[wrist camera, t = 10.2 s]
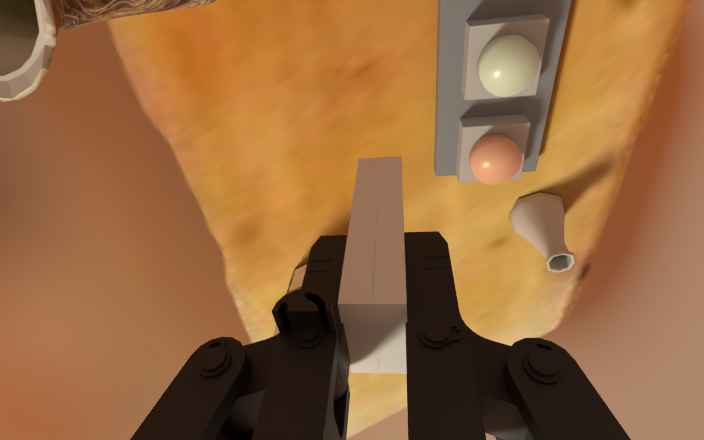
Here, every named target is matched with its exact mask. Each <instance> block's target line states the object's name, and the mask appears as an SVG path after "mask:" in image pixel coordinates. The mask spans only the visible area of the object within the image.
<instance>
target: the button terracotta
mask: <svg viewBox="0 0 704 440" xmlns="http://www.w3.org/2000/svg"><path fill="white" fill-rule="evenodd" d="M469 162H470V165H471V168H472V171H473V174H474V176H475V177H476V178H477V179H478V180H479V181H481V182H483V183H486V184H500V183H503V182H505V181H508V180H509V179H511V178H512V177H513V176H515V175H516V173H517V172H518V171H519V169H520V167H521V164H522V155H521V152H520V150H519V149H518V147H517V145H516V143H515V142H514V140H513V139H511V138H510V137H509V136H506V135H503V134H491V135H488V136H485V137H483V138H481V139H480V140H479V141H477V142H476V143H475V144H474V146H473V147H472V149H471V151H470V154H469Z"/></svg>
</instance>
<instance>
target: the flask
mask: <svg viewBox="0 0 704 440" xmlns="http://www.w3.org/2000/svg"><path fill="white" fill-rule="evenodd" d="M509 218H510V221H511V224H512V227H513V230H514V231H515V232H516V233H518V234H519V235H520V236H522V237H523V238H525V239H526V240H527V241H529V242H530V243H531V244H532V245H534V246H535V247H536V248H537V249H539V251H540V252H541V253H542V254H543V255H544V257H545V258H546V265H547V268H548V270H549V271H553V272H562V271H566V270H570V269H571V268H572V266H573V265H574V264H575V258H574V254H573V253H572V252H569V251H568V249H567V247H566V245H565V242H564V218H565V212H564V208H563V203H562V199H561V196H558V195H552V194H547V193H542V192H539V193H536V194H533V195H530V196H527V197H524V198H521V199H518V200H517V202H516V204H515V205H514V207H513V209H512V211H511V213H510V215H509Z"/></svg>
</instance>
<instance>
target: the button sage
mask: <svg viewBox="0 0 704 440" xmlns="http://www.w3.org/2000/svg"><path fill="white" fill-rule="evenodd" d="M539 65H540V58H539V54H538V51H537V49H536V48H535V46H534V45H533V44H531V43H530V42H529V41H528V40H527V39H526V38H524V37H523V36H520V35H517V34H504V35H501V36H499V37H496V38H495V39H493V40H492V41H490V42H489V43H488V44H487V45H486V46H485V47H484V49H483V50H482V52H481V54H480V56H479V58H478V62H477V73H478V76H479V79H480V80H481V82H482V84H483V86H484V87H485V89H486V90H487V91H488V92H490V93H491V94H493V95H495V96H500V97H508V96H512V95H515V94H518V93H520V92H521V91H523V90H524V89H526V88H527V87H528V86H529V85H530V84H531V83H532V82H533V80H534V79H535V77H536V75H537V73H538V70H539Z"/></svg>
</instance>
